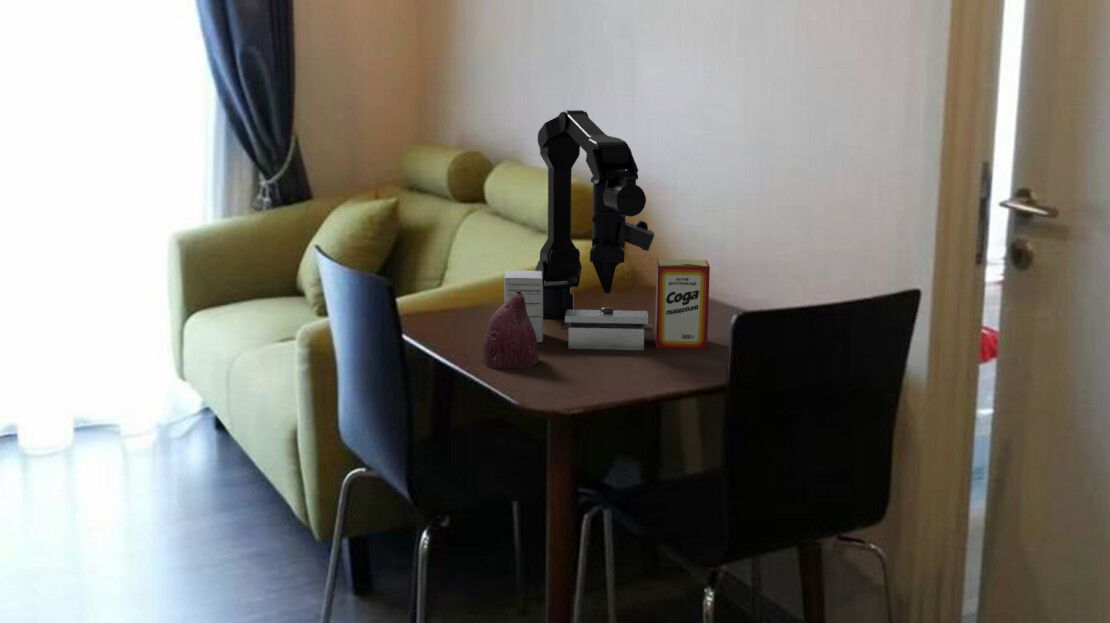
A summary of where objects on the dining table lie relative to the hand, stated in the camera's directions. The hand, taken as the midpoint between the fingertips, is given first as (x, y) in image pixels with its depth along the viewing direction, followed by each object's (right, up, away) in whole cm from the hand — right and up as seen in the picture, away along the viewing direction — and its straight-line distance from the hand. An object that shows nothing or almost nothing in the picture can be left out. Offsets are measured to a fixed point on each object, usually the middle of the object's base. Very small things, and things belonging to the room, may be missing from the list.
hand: (607, 292), depth 225 cm
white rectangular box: (0, -9, +4) cm, 10 cm away
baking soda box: (+14, -10, +3) cm, 18 cm away
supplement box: (-16, -9, +8) cm, 20 cm away
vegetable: (-18, -13, -10) cm, 24 cm away
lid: (0, -5, +3) cm, 6 cm away
